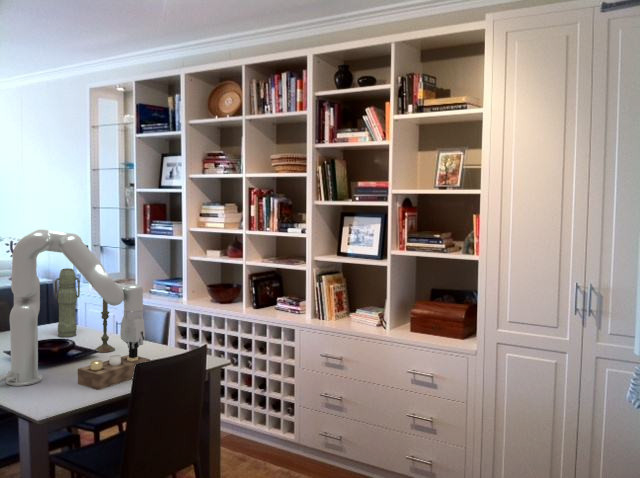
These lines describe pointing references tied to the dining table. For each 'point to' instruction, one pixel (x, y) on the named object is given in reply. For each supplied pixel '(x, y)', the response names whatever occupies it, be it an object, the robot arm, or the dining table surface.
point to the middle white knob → (115, 360)
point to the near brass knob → (96, 365)
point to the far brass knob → (132, 358)
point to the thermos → (67, 302)
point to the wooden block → (108, 373)
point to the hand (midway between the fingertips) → (133, 357)
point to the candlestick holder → (105, 347)
